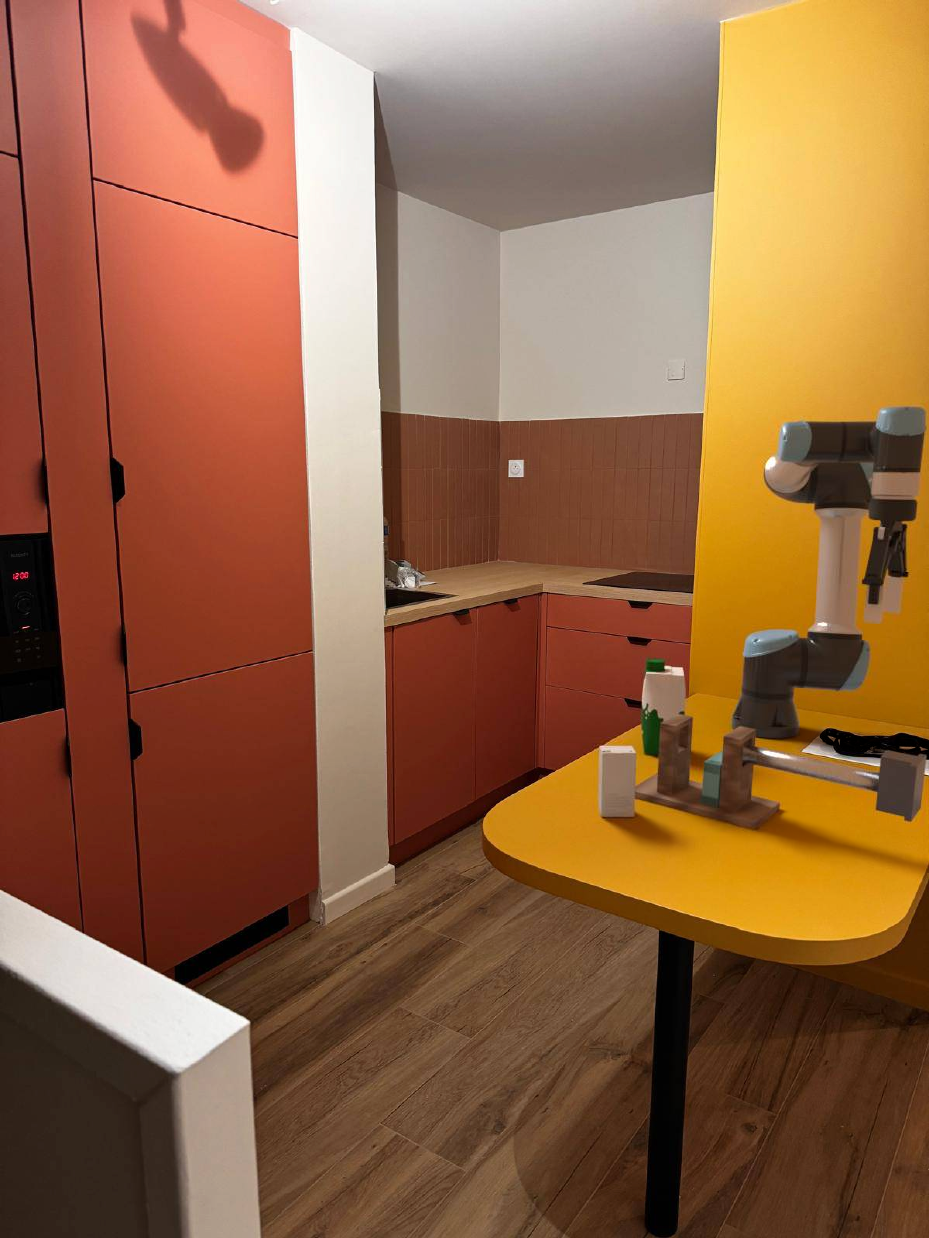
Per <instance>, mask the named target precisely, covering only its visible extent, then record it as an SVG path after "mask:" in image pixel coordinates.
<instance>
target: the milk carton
mask: <svg viewBox="0 0 929 1238" xmlns="http://www.w3.org/2000/svg"><path fill="white" fill-rule="evenodd" d="M684 673H685V672H684V668H683V667H681V666H680V667H676V666H670V665H666V661H665V659H663V658H657V657H655V658H653V657H650V658H647V659H645V668H644V678H643V687H642V696H641V716H640V717H641V718H640V726H641V738H642V745H643V747H642V748H643V754H644V755H653V756H659V740H660V723H661V722H663V721H665V720H667V719H669V718H671V717H673V716H675V715H677V714H681V715H685V714H686V697H687V695H686V694H687V693H686V692H687V691H686V680H685V679H686V678H685V674H684Z"/></svg>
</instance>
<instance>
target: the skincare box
mask: <svg viewBox="0 0 929 1238" xmlns="http://www.w3.org/2000/svg"><path fill="white" fill-rule="evenodd" d="M598 749H599V751H598V753H599V755H598V796H597V797H598V801H597V802H598V805H597V807H598V811H599V814H600V816H601V817H602V818H603V817H604V818H634V817H635V813H636V811H635V810H636V809H635V807H636V806H635V805H636V798H635V786H636V781H637V779H636V775H637V773H636V772H637V753H636V750H635V749H634V747H633V745H599V748H598Z"/></svg>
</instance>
